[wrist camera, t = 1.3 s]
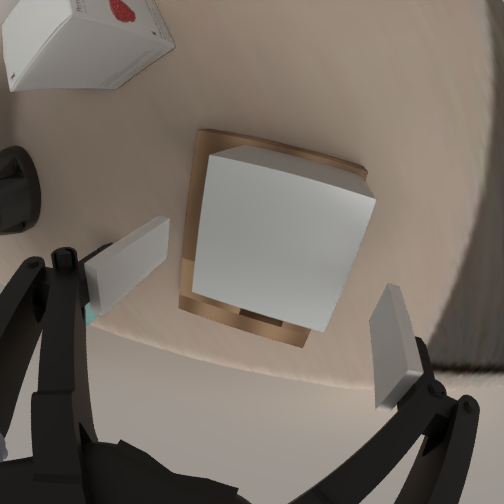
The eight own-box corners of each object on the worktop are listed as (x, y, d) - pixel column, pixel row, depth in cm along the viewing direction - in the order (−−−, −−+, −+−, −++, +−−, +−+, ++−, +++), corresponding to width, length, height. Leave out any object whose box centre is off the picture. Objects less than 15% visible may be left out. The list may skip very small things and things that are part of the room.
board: (188, 294, 36) (158, 334, 29) (210, 128, 26) (170, 133, 19) (305, 331, 34) (297, 381, 27) (363, 166, 25) (378, 183, 18)
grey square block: (225, 247, 28) (191, 291, 21) (245, 144, 24) (209, 154, 16) (326, 277, 27) (323, 332, 20) (360, 175, 22) (376, 199, 15)
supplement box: (178, 47, 23) (72, 15, 10) (116, 91, 27) (7, 96, 14) (153, -6, 21) (58, -46, 7) (97, 37, 24) (-2, 27, 11)
